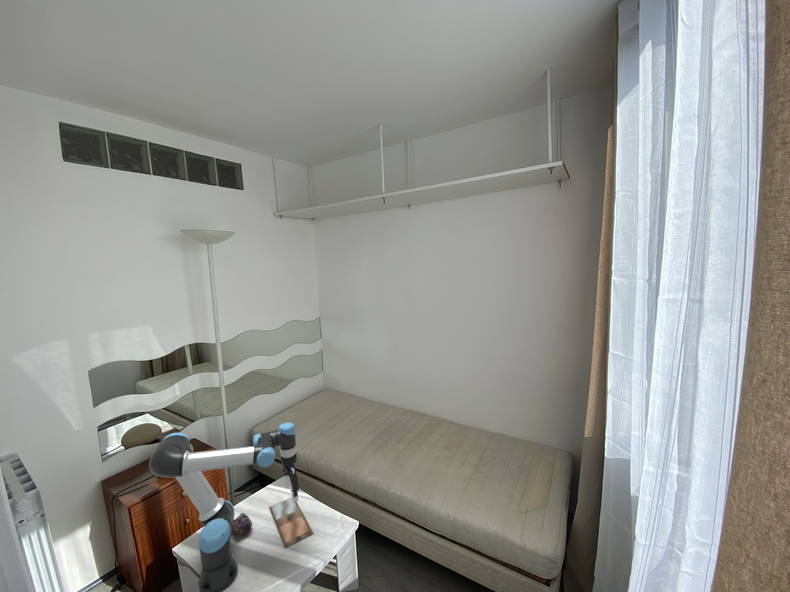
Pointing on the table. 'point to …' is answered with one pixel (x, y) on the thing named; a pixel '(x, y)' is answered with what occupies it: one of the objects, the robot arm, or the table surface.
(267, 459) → the robot arm
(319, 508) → the table surface
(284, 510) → the board
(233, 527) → the rock
